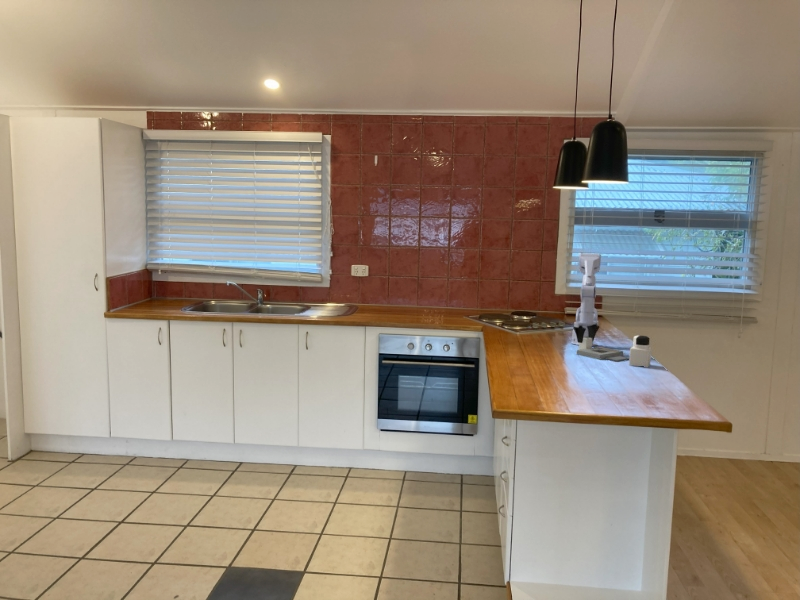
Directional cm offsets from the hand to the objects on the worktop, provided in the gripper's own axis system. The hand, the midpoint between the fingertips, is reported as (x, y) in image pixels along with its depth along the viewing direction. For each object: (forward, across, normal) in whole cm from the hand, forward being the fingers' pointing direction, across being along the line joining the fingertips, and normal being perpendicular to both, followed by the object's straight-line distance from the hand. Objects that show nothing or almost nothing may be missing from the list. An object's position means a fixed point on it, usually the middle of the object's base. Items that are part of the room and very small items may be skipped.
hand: (585, 341), depth 273 cm
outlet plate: (+4, -2, -9) cm, 10 cm away
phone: (+5, -3, -19) cm, 20 cm away
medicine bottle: (+4, -4, -30) cm, 31 cm away
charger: (+4, 0, 0) cm, 4 cm away
